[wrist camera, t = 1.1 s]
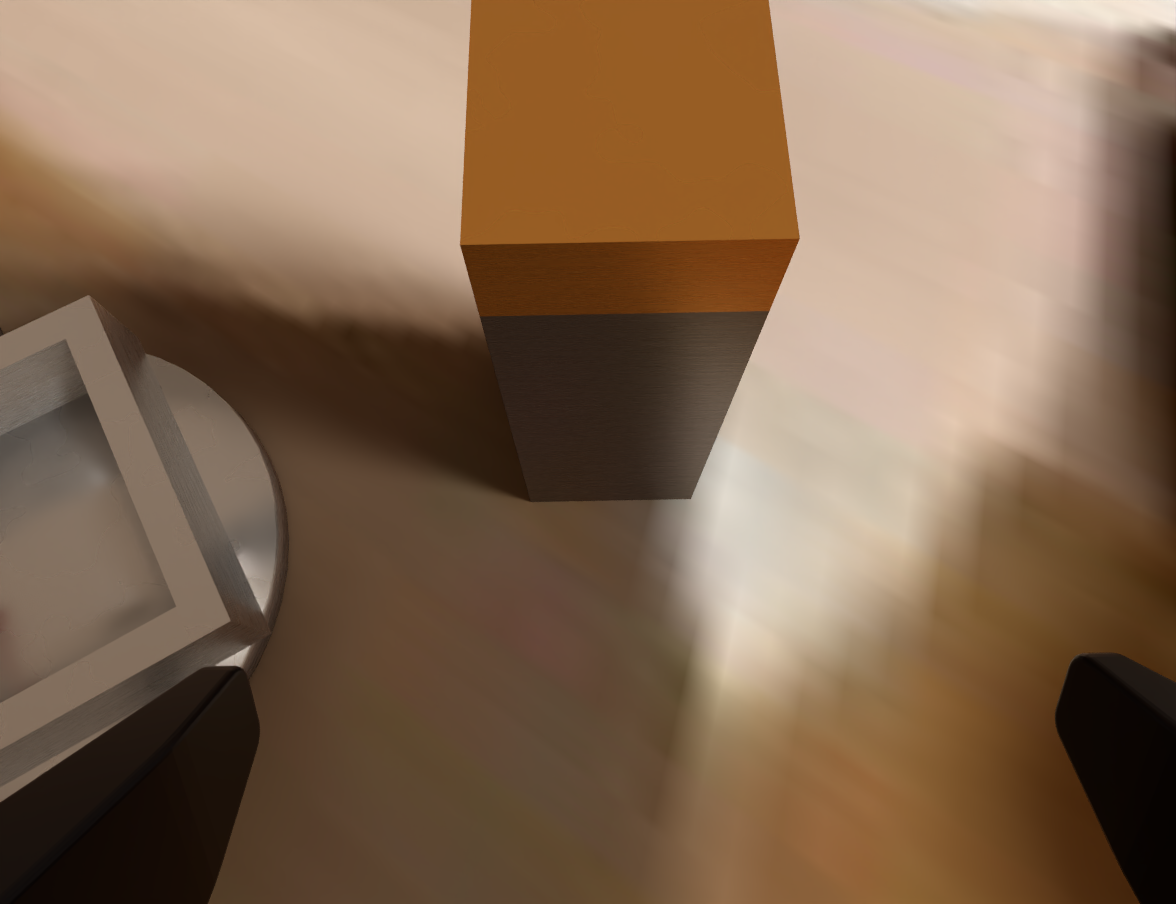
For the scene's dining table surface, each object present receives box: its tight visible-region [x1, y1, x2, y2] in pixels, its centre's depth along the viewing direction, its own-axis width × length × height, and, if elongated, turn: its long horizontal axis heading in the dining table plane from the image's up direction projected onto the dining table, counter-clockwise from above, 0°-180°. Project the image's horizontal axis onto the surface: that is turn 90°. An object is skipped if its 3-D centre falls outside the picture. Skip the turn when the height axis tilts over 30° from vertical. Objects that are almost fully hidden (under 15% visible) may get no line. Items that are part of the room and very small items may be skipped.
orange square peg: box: [460, 0, 800, 502], centre depth 18 cm, size 5×5×13 cm
